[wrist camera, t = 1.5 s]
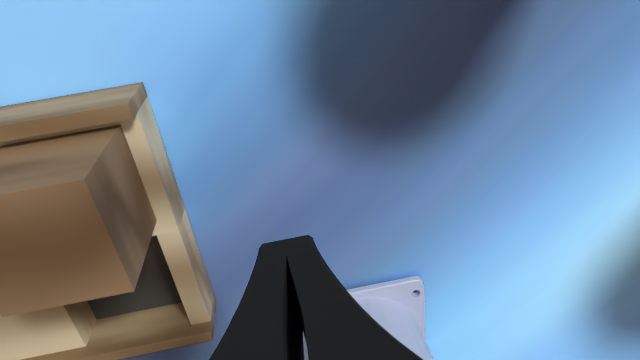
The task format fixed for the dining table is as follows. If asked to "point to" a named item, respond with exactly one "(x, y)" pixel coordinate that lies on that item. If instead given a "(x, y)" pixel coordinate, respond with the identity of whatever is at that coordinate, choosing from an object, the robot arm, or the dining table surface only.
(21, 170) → the walnut block
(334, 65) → the dining table surface
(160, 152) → the board
